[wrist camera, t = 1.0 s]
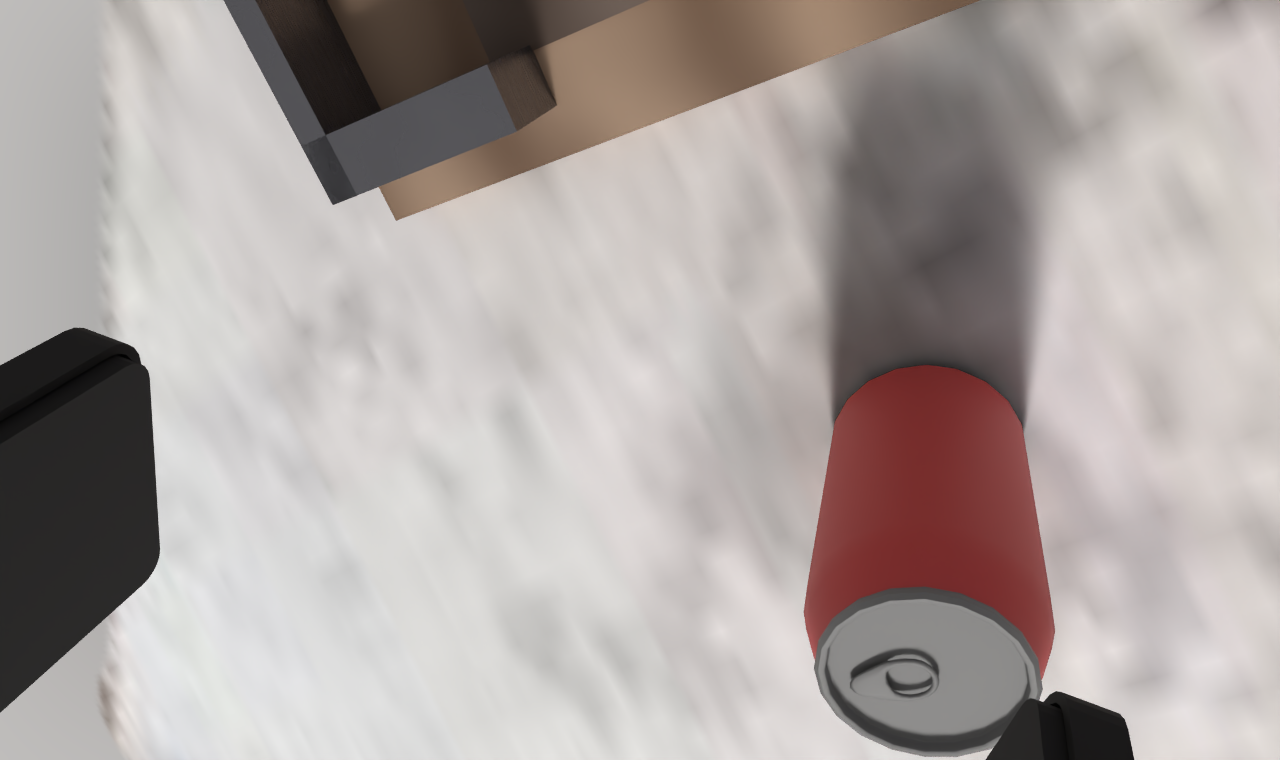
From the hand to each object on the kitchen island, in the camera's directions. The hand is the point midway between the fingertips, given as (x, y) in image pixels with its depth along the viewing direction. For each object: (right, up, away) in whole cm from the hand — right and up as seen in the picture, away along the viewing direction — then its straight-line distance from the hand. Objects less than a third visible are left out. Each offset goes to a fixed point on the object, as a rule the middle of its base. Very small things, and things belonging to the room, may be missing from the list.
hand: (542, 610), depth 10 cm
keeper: (-6, +14, +21) cm, 26 cm away
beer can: (+11, 0, +25) cm, 27 cm away
